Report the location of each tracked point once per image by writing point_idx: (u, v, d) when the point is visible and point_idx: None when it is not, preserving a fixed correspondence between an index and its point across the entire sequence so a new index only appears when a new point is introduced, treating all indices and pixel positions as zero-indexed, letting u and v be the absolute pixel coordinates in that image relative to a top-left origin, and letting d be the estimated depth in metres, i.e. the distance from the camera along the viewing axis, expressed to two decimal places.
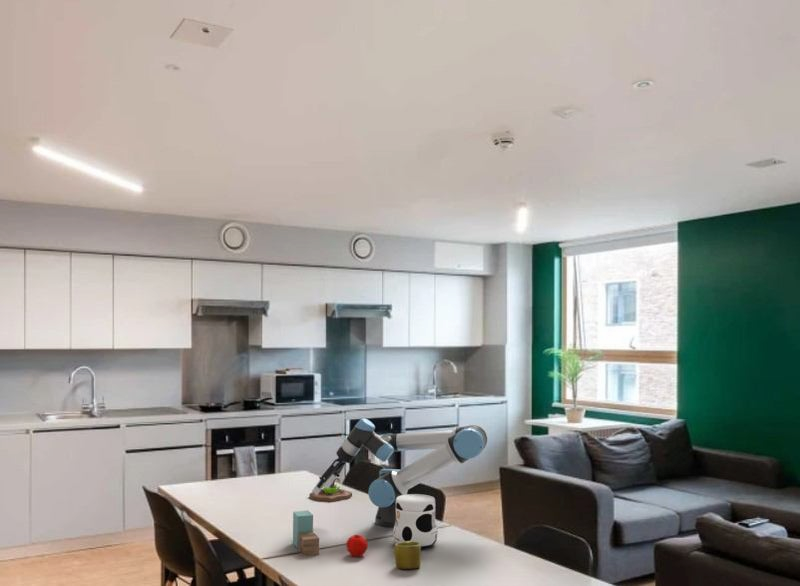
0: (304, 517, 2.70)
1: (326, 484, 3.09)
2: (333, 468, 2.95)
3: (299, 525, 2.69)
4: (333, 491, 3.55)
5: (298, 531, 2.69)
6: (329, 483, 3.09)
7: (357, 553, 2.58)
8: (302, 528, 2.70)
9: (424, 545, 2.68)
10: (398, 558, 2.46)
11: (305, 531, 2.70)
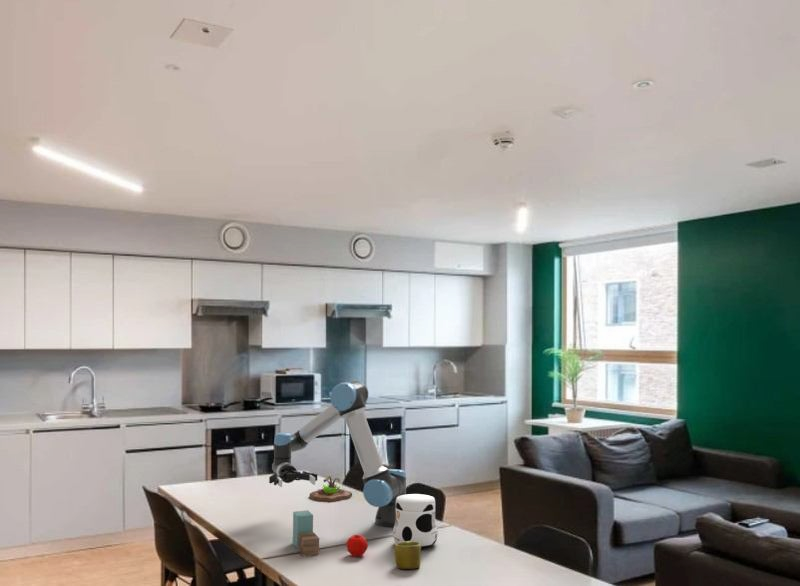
0: (304, 517, 2.70)
1: (312, 481, 2.88)
2: None
3: (299, 525, 2.69)
4: (333, 491, 3.55)
5: (298, 531, 2.69)
6: (312, 478, 2.89)
7: (357, 553, 2.58)
8: (302, 528, 2.70)
9: (424, 545, 2.68)
10: (398, 558, 2.46)
11: (305, 531, 2.70)
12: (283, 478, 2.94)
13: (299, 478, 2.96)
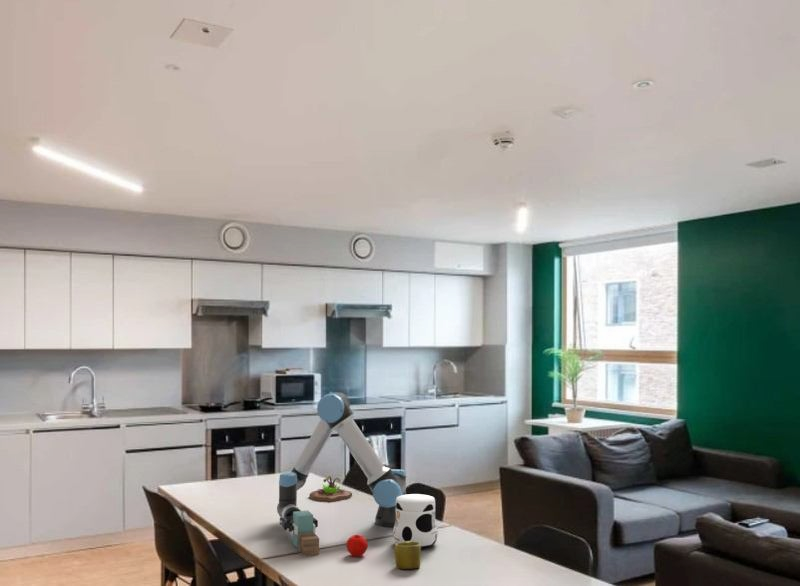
0: (304, 517, 2.70)
1: None
2: (282, 521, 2.80)
3: (299, 525, 2.69)
4: (333, 491, 3.55)
5: (298, 531, 2.69)
6: None
7: (357, 553, 2.58)
8: (302, 528, 2.70)
9: (424, 545, 2.68)
10: (398, 558, 2.46)
11: (305, 531, 2.70)
12: None
13: None
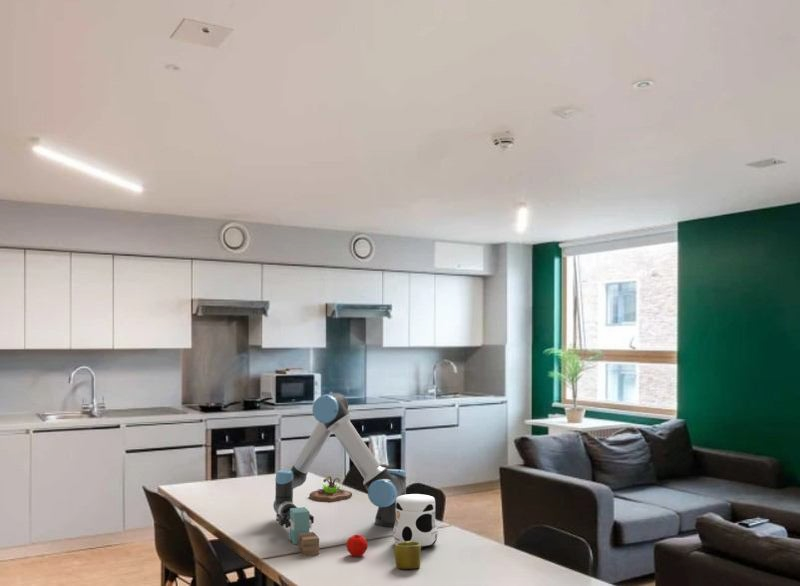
0: (300, 513, 2.76)
1: None
2: (278, 517, 2.86)
3: (296, 521, 2.75)
4: (333, 491, 3.55)
5: (295, 527, 2.75)
6: None
7: (357, 553, 2.58)
8: (299, 524, 2.75)
9: (424, 545, 2.68)
10: (398, 558, 2.46)
11: (301, 527, 2.76)
12: None
13: None
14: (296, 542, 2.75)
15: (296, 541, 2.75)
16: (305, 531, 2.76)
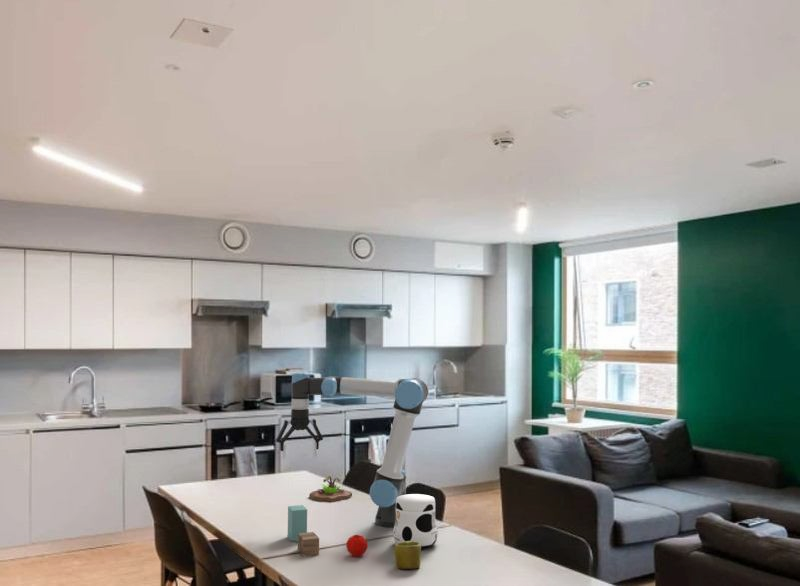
0: (298, 511, 2.79)
1: (313, 454, 3.07)
2: (283, 426, 3.02)
3: (293, 519, 2.78)
4: (333, 491, 3.55)
5: (292, 525, 2.78)
6: (314, 451, 3.06)
7: (357, 553, 2.58)
8: (296, 522, 2.79)
9: (424, 545, 2.68)
10: (398, 558, 2.46)
11: (299, 525, 2.79)
12: None
13: None
14: (294, 539, 2.78)
15: (294, 538, 2.78)
16: (303, 529, 2.80)
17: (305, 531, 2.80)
